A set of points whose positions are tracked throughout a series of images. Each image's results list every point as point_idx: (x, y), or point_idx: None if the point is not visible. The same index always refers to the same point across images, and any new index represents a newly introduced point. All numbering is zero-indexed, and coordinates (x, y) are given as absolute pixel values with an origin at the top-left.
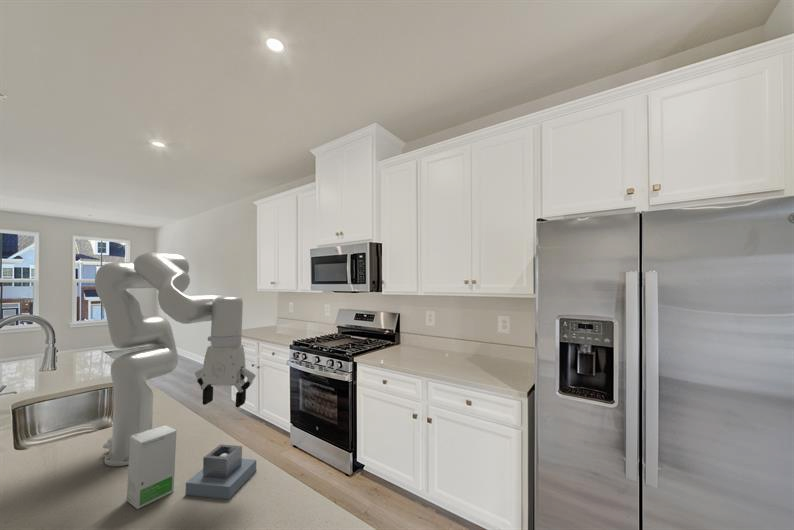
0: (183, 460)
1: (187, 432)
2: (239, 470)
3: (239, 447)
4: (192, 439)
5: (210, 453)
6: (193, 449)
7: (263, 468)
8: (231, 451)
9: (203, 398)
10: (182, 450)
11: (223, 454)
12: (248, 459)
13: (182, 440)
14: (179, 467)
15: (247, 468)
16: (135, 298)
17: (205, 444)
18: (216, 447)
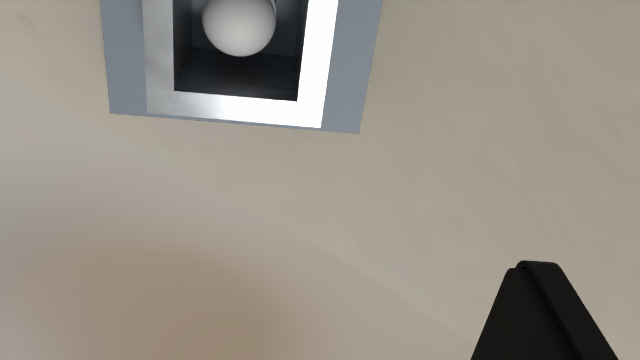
0: (552, 152)
1: (629, 343)
2: (141, 3)
3: (155, 96)
4: (583, 300)
5: (322, 6)
6: (544, 234)
7: (97, 108)
8: (218, 83)
9: (589, 334)
10: (593, 224)
11: (234, 23)
12: (159, 114)
13: (626, 291)
14: (546, 97)
15: (104, 25)
16: None
17: (505, 271)
18: (325, 89)
